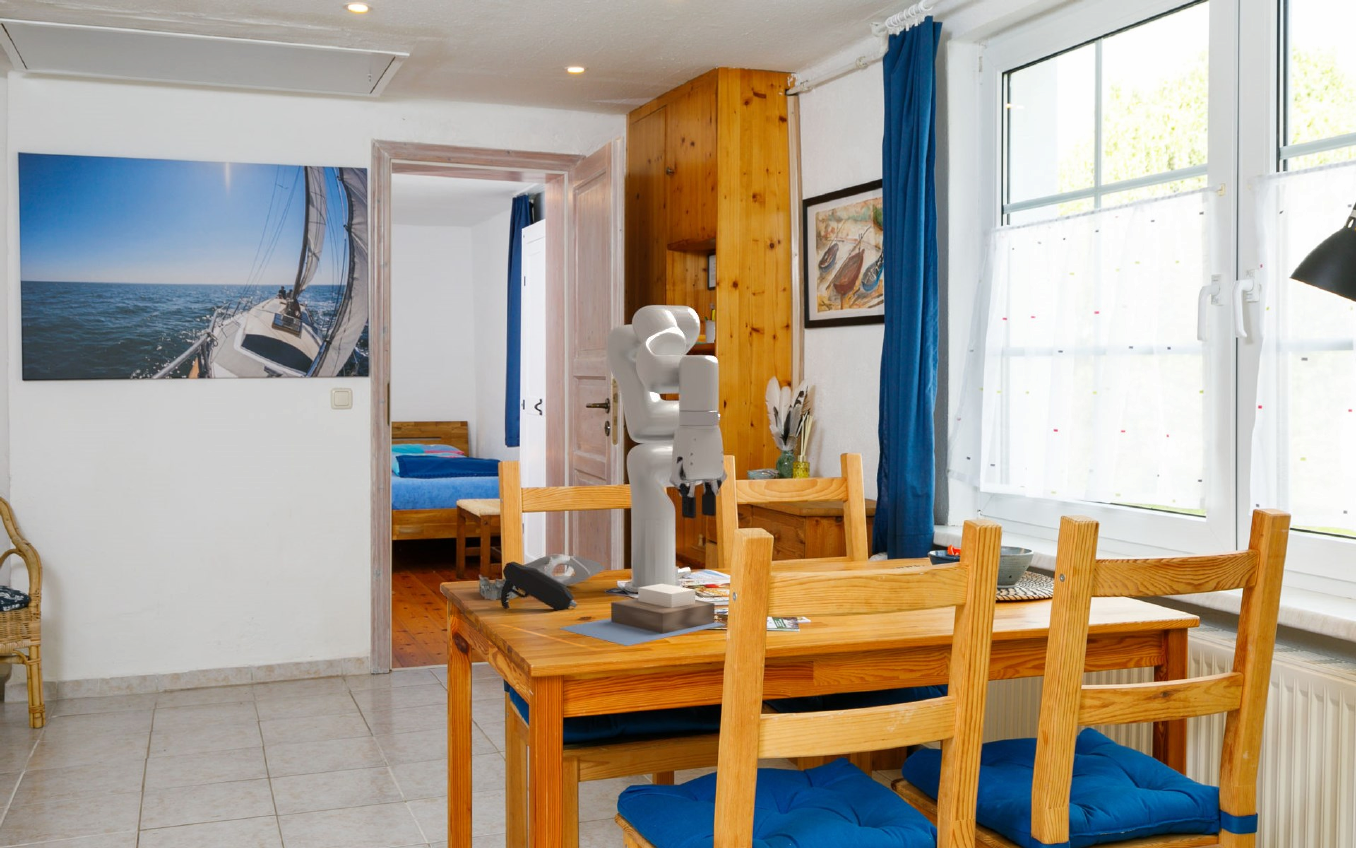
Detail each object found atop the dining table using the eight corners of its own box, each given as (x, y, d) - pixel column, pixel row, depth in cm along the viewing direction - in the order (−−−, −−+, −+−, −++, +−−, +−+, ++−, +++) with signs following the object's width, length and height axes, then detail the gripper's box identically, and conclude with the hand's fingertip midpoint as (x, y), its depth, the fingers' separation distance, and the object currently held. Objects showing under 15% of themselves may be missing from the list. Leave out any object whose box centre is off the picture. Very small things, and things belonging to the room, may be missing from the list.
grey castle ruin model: (477, 593, 239) (477, 574, 239) (512, 591, 241) (512, 572, 241) (482, 602, 229) (482, 582, 229) (519, 600, 231) (519, 580, 231)
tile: (661, 596, 212) (661, 583, 212) (695, 603, 205) (695, 589, 205) (638, 601, 208) (638, 587, 207) (671, 607, 201) (671, 594, 201)
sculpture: (558, 595, 236) (558, 565, 236) (500, 583, 250) (500, 555, 249) (619, 584, 248) (619, 556, 248) (561, 574, 262) (561, 547, 262)
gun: (557, 640, 218) (579, 595, 217) (487, 599, 221) (509, 555, 220) (561, 636, 221) (583, 593, 220) (492, 596, 224) (514, 553, 222)
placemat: (655, 611, 217) (655, 609, 217) (726, 626, 204) (726, 624, 204) (557, 630, 201) (557, 628, 201) (627, 648, 187) (627, 645, 187)
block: (662, 611, 215) (662, 593, 215) (714, 622, 205) (714, 603, 205) (611, 621, 206) (611, 602, 206) (662, 633, 196) (662, 613, 196)
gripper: (715, 419, 220) (715, 511, 220) (652, 421, 208) (652, 518, 209) (743, 420, 214) (743, 514, 215) (680, 422, 203) (680, 522, 203)
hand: (699, 515), depth 212 cm, fingers open, 4 cm apart
